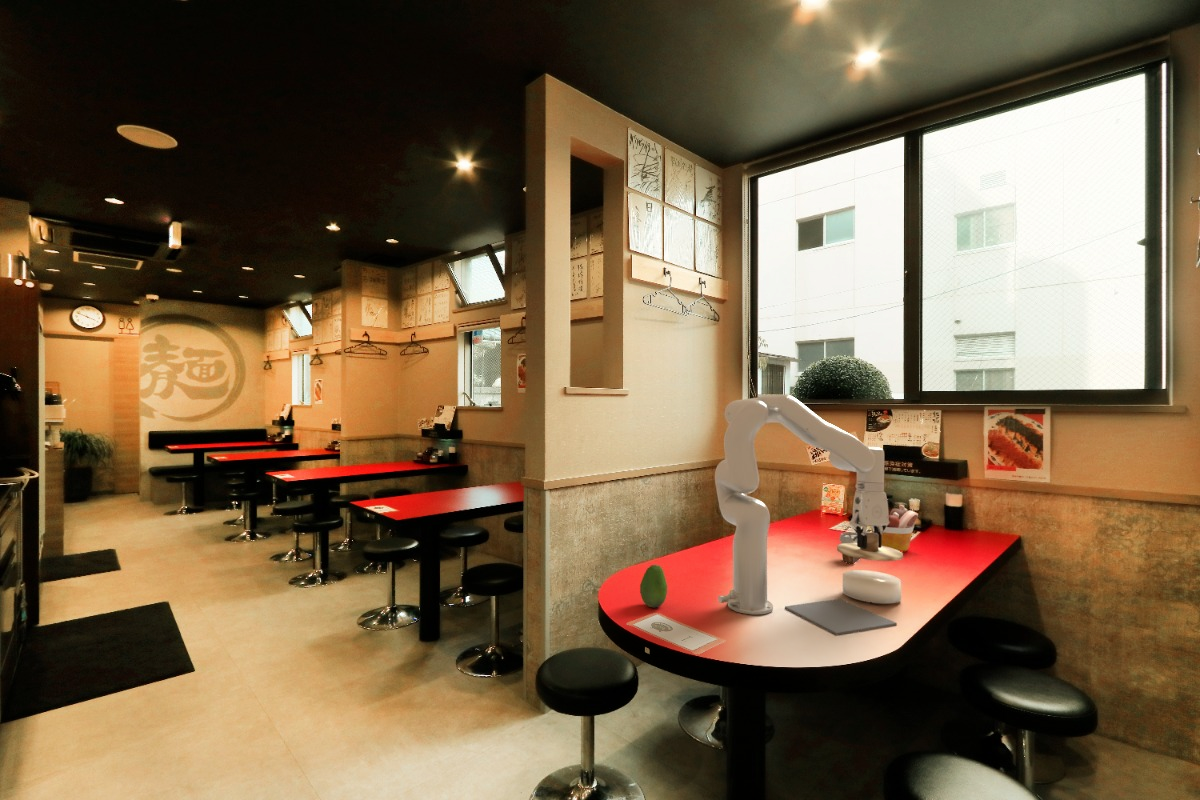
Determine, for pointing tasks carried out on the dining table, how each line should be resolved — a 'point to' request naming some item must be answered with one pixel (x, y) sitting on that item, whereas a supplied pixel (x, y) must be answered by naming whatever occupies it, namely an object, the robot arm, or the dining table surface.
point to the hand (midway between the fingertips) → (869, 546)
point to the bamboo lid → (870, 550)
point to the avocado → (653, 586)
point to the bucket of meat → (899, 529)
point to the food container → (849, 538)
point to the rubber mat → (840, 616)
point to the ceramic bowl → (872, 586)
